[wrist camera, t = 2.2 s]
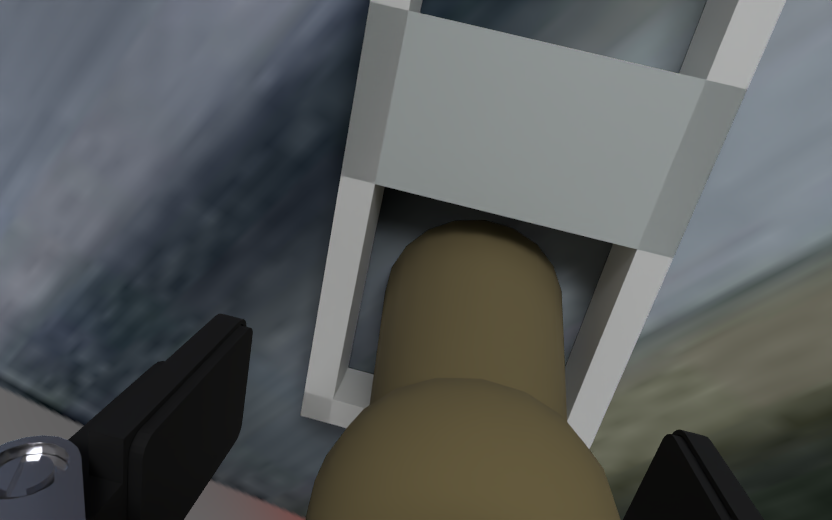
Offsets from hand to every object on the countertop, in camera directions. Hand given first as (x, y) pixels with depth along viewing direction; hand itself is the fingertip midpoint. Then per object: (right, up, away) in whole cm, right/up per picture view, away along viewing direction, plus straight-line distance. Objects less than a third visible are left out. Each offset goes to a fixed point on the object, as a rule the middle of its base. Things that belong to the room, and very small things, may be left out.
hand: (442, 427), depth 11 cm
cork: (+1, +2, +6) cm, 7 cm away
